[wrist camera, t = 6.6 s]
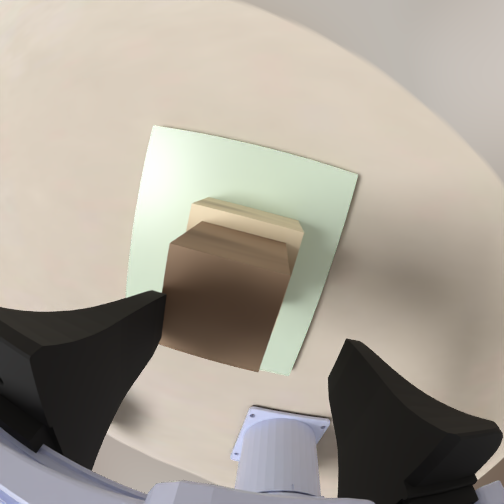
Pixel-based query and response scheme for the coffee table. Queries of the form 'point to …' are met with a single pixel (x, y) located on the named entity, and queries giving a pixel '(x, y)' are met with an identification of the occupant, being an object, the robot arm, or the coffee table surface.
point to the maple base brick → (250, 224)
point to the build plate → (246, 194)
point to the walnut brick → (223, 294)
